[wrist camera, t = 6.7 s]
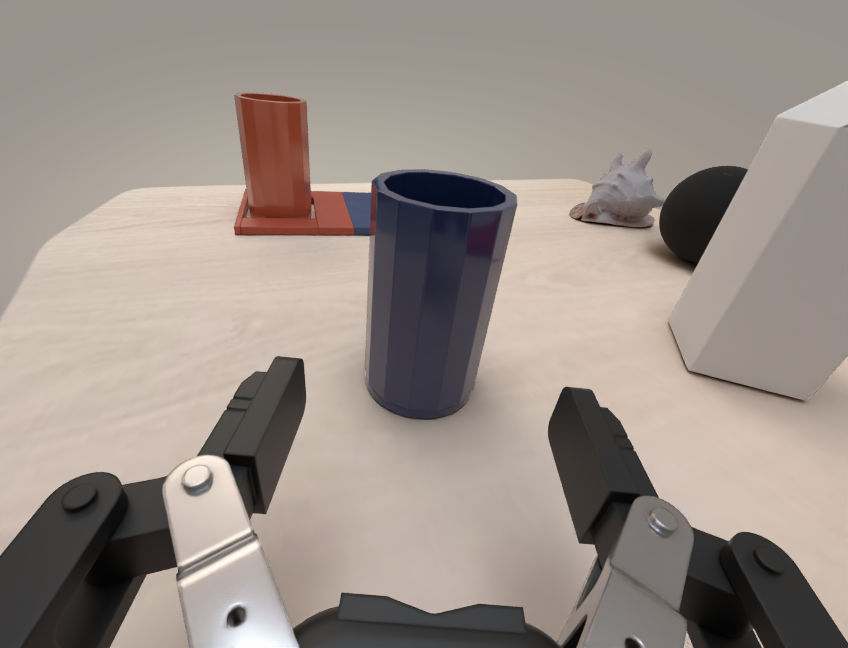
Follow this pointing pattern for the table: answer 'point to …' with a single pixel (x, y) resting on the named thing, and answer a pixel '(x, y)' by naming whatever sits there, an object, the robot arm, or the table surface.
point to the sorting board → (332, 217)
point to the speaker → (698, 209)
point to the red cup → (275, 154)
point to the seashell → (622, 195)
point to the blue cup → (431, 286)
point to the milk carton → (778, 262)
